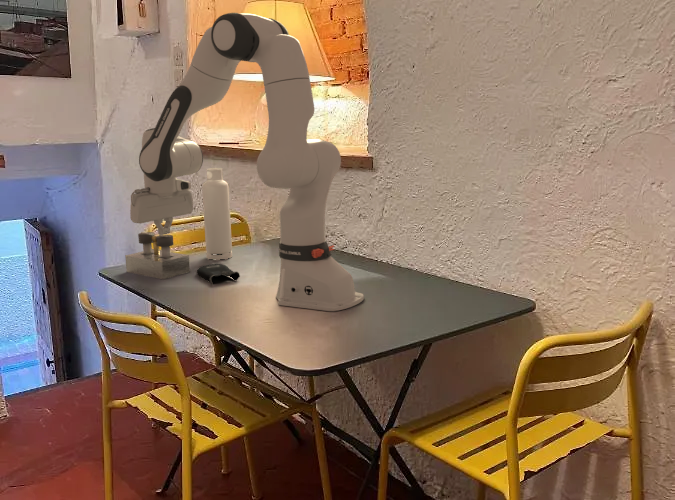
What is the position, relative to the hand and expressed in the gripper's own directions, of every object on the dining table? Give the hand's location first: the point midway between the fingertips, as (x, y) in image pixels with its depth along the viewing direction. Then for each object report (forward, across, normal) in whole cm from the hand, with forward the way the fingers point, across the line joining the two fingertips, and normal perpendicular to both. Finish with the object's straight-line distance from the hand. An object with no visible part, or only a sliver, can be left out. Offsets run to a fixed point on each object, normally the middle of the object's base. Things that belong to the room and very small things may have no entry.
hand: (164, 234), depth 197 cm
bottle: (+12, +23, +2) cm, 26 cm away
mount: (+12, 0, +4) cm, 12 cm away
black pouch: (+12, +5, -15) cm, 20 cm away
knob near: (+8, 0, 0) cm, 8 cm away
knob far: (+8, 0, +8) cm, 11 cm away
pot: (+7, 0, +4) cm, 8 cm away
